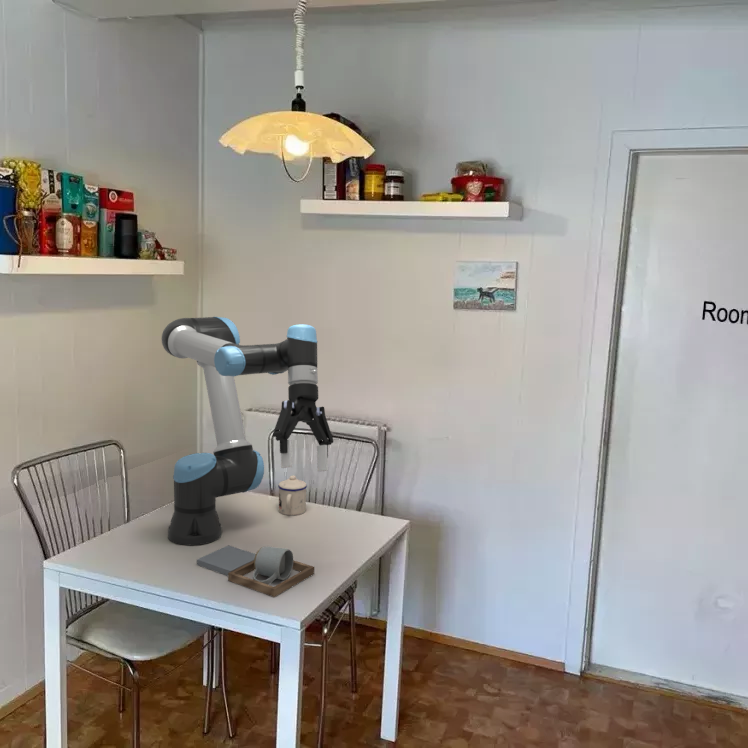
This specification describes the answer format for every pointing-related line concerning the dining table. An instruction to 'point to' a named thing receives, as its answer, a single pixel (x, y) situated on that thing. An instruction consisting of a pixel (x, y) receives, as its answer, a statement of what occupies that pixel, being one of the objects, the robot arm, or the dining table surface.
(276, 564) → the ceramic mug
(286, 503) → the teacup with lid
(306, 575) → the walnut frame
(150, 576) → the dining table surface
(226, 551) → the grey board
